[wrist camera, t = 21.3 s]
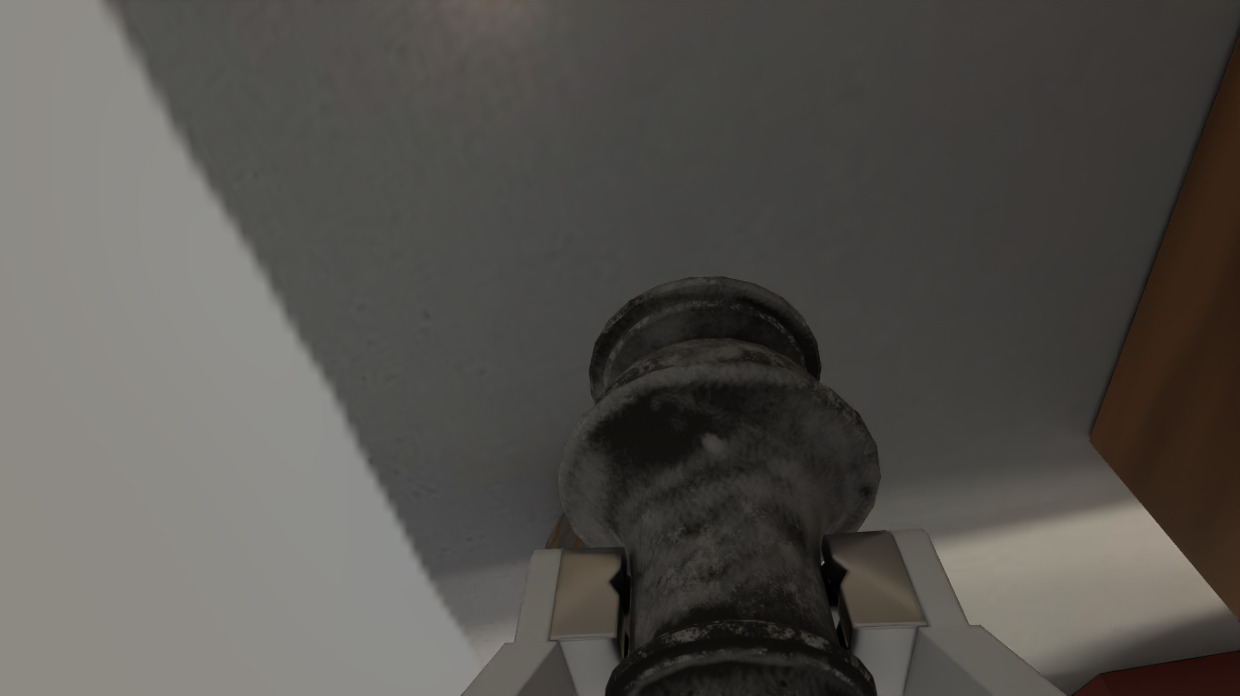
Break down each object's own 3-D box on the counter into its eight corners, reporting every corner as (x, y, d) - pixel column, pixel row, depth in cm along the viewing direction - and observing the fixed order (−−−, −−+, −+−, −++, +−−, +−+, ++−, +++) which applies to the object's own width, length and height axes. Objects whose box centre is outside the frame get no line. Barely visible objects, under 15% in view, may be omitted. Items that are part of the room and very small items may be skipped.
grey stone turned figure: (760, 493, 17) (918, 1341, 7) (546, 430, 16) (362, 1305, 6) (885, 316, 13) (1542, 1425, 4) (627, 223, 13) (530, 1373, 3)
